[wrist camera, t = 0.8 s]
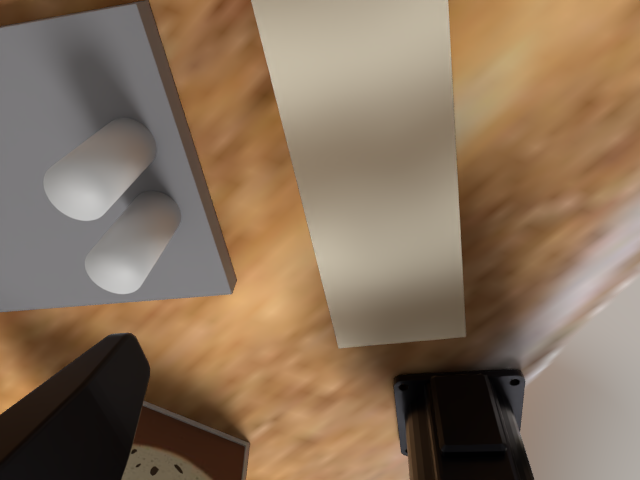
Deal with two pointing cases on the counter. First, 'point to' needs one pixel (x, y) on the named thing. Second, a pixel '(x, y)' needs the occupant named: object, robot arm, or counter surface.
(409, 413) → the robot arm
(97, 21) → the peg stand
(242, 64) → the counter surface
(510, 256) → the counter surface
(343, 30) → the beige marbled block
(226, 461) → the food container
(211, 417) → the counter surface
